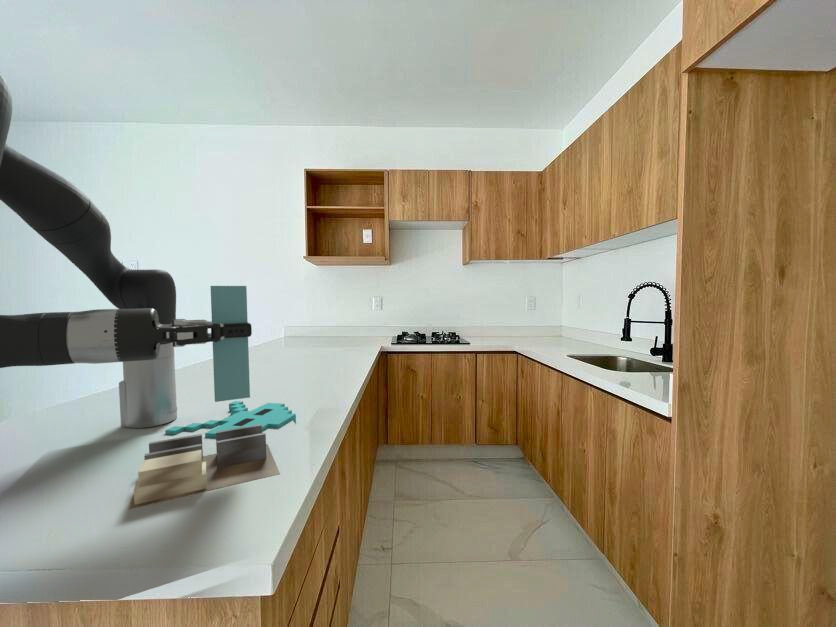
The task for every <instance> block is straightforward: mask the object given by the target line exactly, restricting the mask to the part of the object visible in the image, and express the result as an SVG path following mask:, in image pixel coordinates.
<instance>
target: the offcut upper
mask: <svg viewBox="0 0 836 627" xmlns="http://www.w3.org/2000/svg"><path fill="white" fill-rule="evenodd" d="M201 474H202V450H197V451H192V452H186V453H181V454H175V455H170V456H164V457H159V458H154V459H148V460H145V459H144V460H142V461H141V465H140V467H139V469H138V473H137V475H138V477H139V487H144V486H149V485H154V484H158V483H163V482H168V481H172V480H177V479H182V478H187V477H191V476H196V475H201ZM138 477H137V478H138Z"/></svg>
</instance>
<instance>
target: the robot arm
mask: <svg viewBox="0 0 836 627" xmlns="http://www.w3.org/2000/svg"><path fill="white" fill-rule="evenodd" d="M12 115H13V99H12V94H11V90H10V87H9V85H8V82H7V80H5V77H4V76H3V75H2V73H1V72H0V201H1V202H2V203H3V204H5V206H7V207H8V208H9V209H11V211H13V212H14V213H15V214H16V215H18V216H19V218H21V219H22V220H23V221H24V223H26V224H27V225H28V226H29V227H30V228H32V230H34V231H35V232H36V233H37V234H38V235H39V236H41V237H42V238H43V239H44V240H45V241H46V242H48V243H49V244H50V245H51V246H52V247H54V248H55V249H57V250H58V251H59V253H61V254H62V255H63V256H64V257H66V258H67V260H68V261H70V262H71V263H72V264H73V266H75V267H76V268H77V269H79V271H81V272H82V273H83V274H84V275H85V276H86V277H87V278H88V279H89V280H90V281H91V283H92V284H93V285H94V286H95V287H96V288H97V289H98V291H100V292H101V294H102V295H103V296H104V297H105V298H106V299H107V301H108V302H110V303H111V304H112V305H113V306H114V307H115V308H107V309H106V308H103V309H90V310H82V311H81V310H80V311H60V312H59V311H57V312H55V311H54V312H51V311H50V312H35V313H24V314H23V313H22V314H8V315H7V314H0V369H1V368H2V369H5V368H10V367H11V368H12V367H46V366H57V365H58V366H59V365H60V366H61V365H73V364H93V365H94V364H95V365H96V364H111V363H112V364H113V363H121V362H122V369H123V370H122V372H123V373H122V375H123V380H121V381H119V382H118V395H119V396H118V398H119V413H120V414H119V415H120V427H121V428H122V427H123V428H124V427H126V428H129V429H131V428H132V429H141V428H142V429H143V428H151V427H157V426H161V425H164V424H168V423H171V422H173V421H174V420H176V419H177V418H178V407H177V387H176V384H177V383H176V364H175V362H176V361H175V348H180V347H181V348H182V347H185V346H187V345H204V344H207V343H210V342H211V343H213V341H214V342H218V341H221V340H222V339H225V336H226V338H238V337H248V338H249V337H251V336H252V334H253V332H252V331H253V330H252V329H253V328H252V324H251V323H250V322H248V323H233V324H225V323H218V324H212V320H211V321H208V320H206V319H186V318H177V317H176V316H177V289H176V284H175V280H174V278H173V276H172V275H171V273H169V272H168V271H166V270H164V269H131V268H128V267H127V266H125V265H124V264H123V263H121V262H120V260H119V259H117V258H116V257H115V255H114V254H113V252H112V250H111V248H112V246H111V245H112V233H111V232H112V231H111V227H110V223H109V221H108V220H107V218H106V216H105V215H104V214H103V213H102V211H101V210H100V209H99V208H98V207H97V206H96V204H95V203H94V202H93V201H92V200H91V199H90V198H89V197H88V195H87V194H86V193H85V192H84V191H83V190H81V189H80V187H78V186H76V185H75V184H74V183H72V182H71V181H69V180H67V178H65V177H63V176H61V175H59V174H58V173H56V172H54V171H53V170H51V169H49V168H47V167H45V166H44V165H42V164H41V163H38V162H37V161H35V160H32V158H29V157H27V156H26V155H24V154H22V153H20V152H19V151H17V150H16V149H14V148H13V147H11V146H9V145H8V144H7V139H8V135H9V131H10V127H11V121H12ZM209 329H210V332H209Z"/></svg>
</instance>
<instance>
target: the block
mask: <svg viewBox="0 0 836 627" xmlns="http://www.w3.org/2000/svg"><path fill="white" fill-rule="evenodd" d="M247 294H248V293H247V285H210V305H211V306H210V307H211V311H210V312H211V321H212V324H218V323H225V324H233V323H249V322H248V321H249V320H248V296H247ZM249 357H250V356H249V337H238V338H226V336H225V339H222V340H221V341H218V342H214V341H213V342H212V358H213V362H212V363H213V365H212V366H213V386H214V387H213V389H214V390H213V391H214V393H213V394H214V402H215V403H218V402H226V401H232V400H233V401H235V400H240V399H249V398H251V390H250V359H249Z"/></svg>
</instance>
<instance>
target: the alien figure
mask: <svg viewBox="0 0 836 627" xmlns="http://www.w3.org/2000/svg"><path fill="white" fill-rule="evenodd" d="M248 409H249V407H246V404H244V401H241V400H233V401H232V402H230V403H228V411H229V410H231V411H230V415H229V416H227V417H225V418H223V419H221V420H219V419H218V420H216V419H215V420H214V419H210V420H208V421H205V422H203V423H201V422H200V423H198V422H192V423H190V424H188V425H185V426H178V425H177V426H176V425H174V426H172V427H170V428H167V429H165V430H164V432H165V435H173V436H176V435H177V434H180V433H183V432H184V431H185V432H196V431H198V430H200V429H202V428H208V429H209V428H210V429H211V430H209V431H206V432H205V433H204V437H205V438H212V439H213V438H215V439H216V431H222V430H228V429H234V428H240V427H246V426H252V425H258V424H261V425H262V432H263V431H265V430H267V429H268V428H271V429H273V428H274V429H279V428H281V427H283V426H285V425H286V424H288V423H290V422H291V421H292V422H294V423H297V414H296V413H293V410H291V409H289V406H286V404H285V403H278V402H266V403H264V404H262V405H260V406H258V407H256V408H254V409H252V410H250V411H249V410H248ZM231 413H233V414H231ZM212 428H213V429H212Z"/></svg>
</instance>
